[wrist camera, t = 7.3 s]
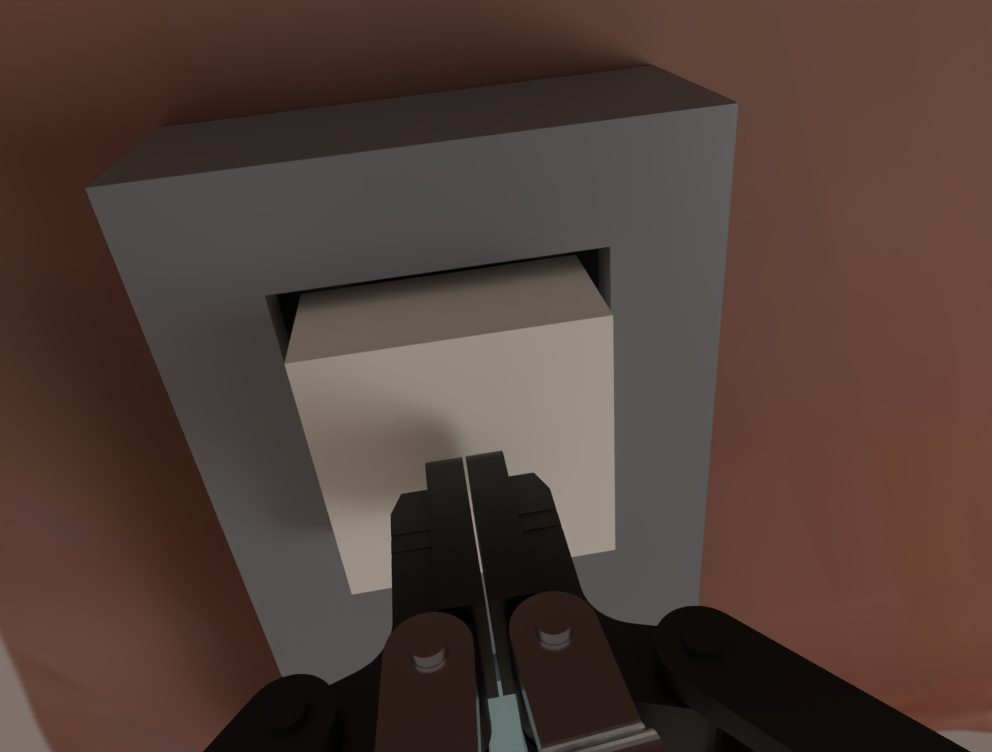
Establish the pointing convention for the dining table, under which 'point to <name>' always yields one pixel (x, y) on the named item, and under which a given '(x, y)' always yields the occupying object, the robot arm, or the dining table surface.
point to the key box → (424, 252)
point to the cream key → (456, 396)
